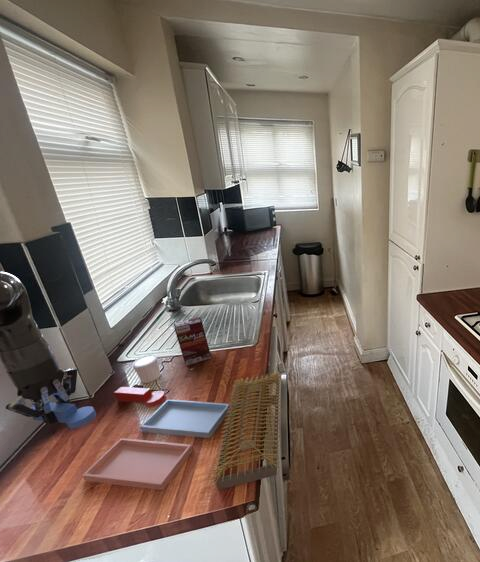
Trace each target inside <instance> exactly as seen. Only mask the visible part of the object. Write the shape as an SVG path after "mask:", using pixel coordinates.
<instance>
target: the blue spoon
mask: <svg viewBox="0 0 480 562" xmlns="http://www.w3.org/2000/svg"><path fill="white" fill-rule="evenodd" d="M49 404H50V407H51V410H53V412H54V414H55V416H56V418H57V420H58V423H60V424H66V426H67V427H68V428H69V429H70V430H71V429H73V430H75V429H78V428H82V427H84V426H86V425H88V424H90V423H91V422H92V421H94V419H95V418H96V416H97V412H96V410H95V409H94V407H93V406H90V405H88V406H87V405H86V406H82V407H79V408H78V407H77V405H76V404H74V403H71V404H65V403H56V402H52V401H50V403H49ZM29 408H31V409H34V410H36V409H35V406H34V405H32V406H30V407H29ZM32 419H33V420H34V421H37V422H38V421H39V422H44V421H43V419H42V417H41V416H40V417H38V418H35V417H32Z"/></svg>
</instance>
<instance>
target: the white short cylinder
mask: <svg viewBox="0 0 480 562" xmlns="http://www.w3.org/2000/svg"><path fill="white" fill-rule="evenodd" d="M131 365H132V367H133V369H134V371H135V373H136V374H137V376H138V378H139V380H140V382H141V383H143V384H147V383H152V382H154V381H156V380H158V379H159V378H160V377H161V369H160V365H159V359H158V356H157V355H156V354H146V355H143V356H140V357H139V358H137V359H136V360H134V361H133V362H132V364H131Z"/></svg>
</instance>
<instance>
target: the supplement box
mask: <svg viewBox="0 0 480 562" xmlns="http://www.w3.org/2000/svg"><path fill="white" fill-rule="evenodd" d="M173 327H174V332H175V335H176V338H177V339H176V340H177V342H178V346H179V348H180V352H181V355H182V358H183V362H184V364H185V366H186V367H187V366H190V365H194V364H197V363H201V362H202V361H203V362H204V361H206V360H209V359H210V360H211V359H212V355H211V350H210V347H209V344H208V338H207V335H206V331H205V327H204V324H203V320H202V316H198V317H194V318H190V319H186V320H182V321H178V322H174V323H173Z"/></svg>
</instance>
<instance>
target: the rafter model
mask: <svg viewBox="0 0 480 562" xmlns="http://www.w3.org/2000/svg"><path fill="white" fill-rule="evenodd" d="M280 384H281V370H279V371H275V372H273V373H271V374H270V375H269V374H268V375H263V374H261V376H259V377H258V375H257V376H256V377H254V376H253V375H252V377H251V378H249V377H248V376H247V377H246V379H244V378H243V377H242V378H241V380H239V379H233V384H232V387H231V388H232V389H231V392H230V395H229V397H230V398H229V400H230V401H228V404H230V405H228V406H231V407H230V408H228V409H230V411H228V412H226V413H228V414H227V416H225V418H226V419H225V418H224V420H223V422H225V423H223V427H222V428H221V429H222V430H223V429H225V430H223V431H221V434H223V435H221V436H220V438H223V439H220V440H219V443H221V442H222V443H221V444H218V445H217V447H221V448H219V449H217V450H216V451H217V452H220V453H219V454H218V453H217V454H216V455H215V456H216V457H218V458H216V459H215V460H214V462H217V461H218V462H217V463H215V464H214V465H213V467H216V468H215V469H212V472H211V475H214V474H215V475H214V476H212V477H211V478H210V481H211V482H210V483H209V486H211V485H212V484H213V483H214V485H216V488H217V491H221V490H224V489H228V488H232V487H235V486H236V487H237V486H239V485H244V484H247V483H252V482H255V481H256V482H257V481H260V480H262V479H267V478H270V477H274V476H278V468H279V466H278V464H279V461H278V458H279V455H280V454H279V453H278V451H280V449H279V448H278V447H279V446H280V444H278V442H280V439H279V438H280V436H279V433H280V431H279V429H280V427H279V425H280V423H279V421H280V419H279V417H280V415H279V414H280V413H281V411H280V410H281V408H280V406H281V404H280V402H281V401H280V399H281V398H280V396H281V394H280ZM256 395H257V396H256ZM228 409H227V410H228ZM266 409H267V410H266ZM236 415H238V416H236ZM236 419H237V420H236ZM265 420H267V421H265ZM235 423H236V424H235ZM265 424H267V425H266V426H265ZM224 425H226V426H224ZM234 427H235V428H234ZM265 429H266V430H265ZM234 431H235V432H234ZM264 433H265V434H264ZM258 434H259V435H258ZM261 434H262V435H261ZM233 436H234V437H233ZM264 437H265V438H264ZM260 438H262V439H260ZM272 439H273V440H272ZM232 440H233V441H232ZM257 443H259V444H257ZM261 443H262V444H261ZM230 445H232V446H230ZM263 446H264V447H263ZM265 446H266V447H265ZM237 447H238V448H237ZM230 450H231V451H230ZM246 450H251V451H246ZM240 451H241V452H240ZM244 451H245V452H244ZM261 451H264V452H261ZM255 452H256V453H255ZM230 454H231V455H230ZM247 455H250V456H247ZM240 456H241V457H240ZM244 456H245V457H244ZM234 459H235V460H234ZM261 460H265V465H263V466H261ZM257 461H258V467H257V468H254V462H257ZM249 463H251V469H247V464H249ZM241 465H244V471H240V466H241ZM235 466H237V472H235V473H233V469H234V467H235ZM229 468H230V471H229V474H228V475H225V474H226V470H228V469H229Z"/></svg>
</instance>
